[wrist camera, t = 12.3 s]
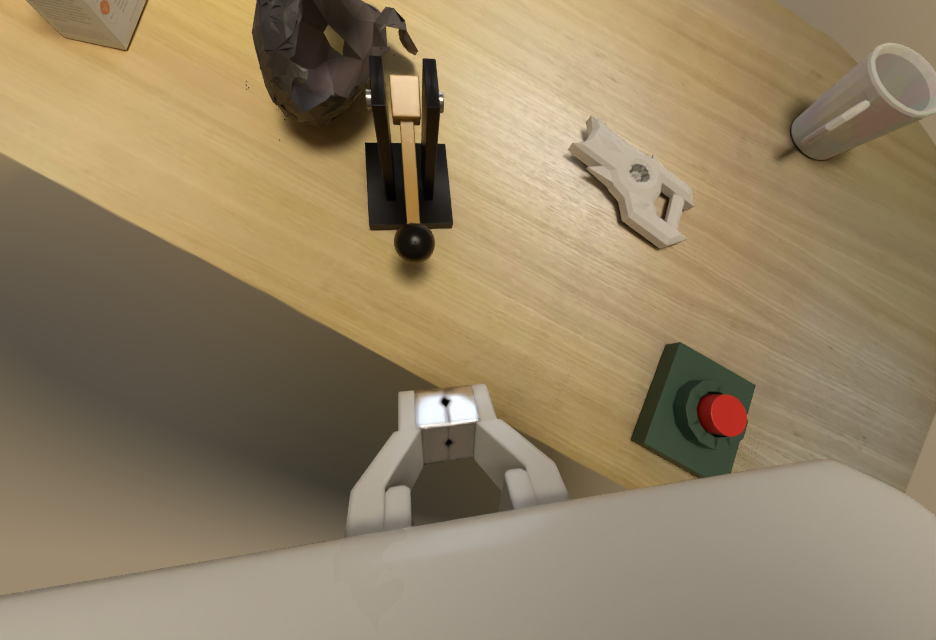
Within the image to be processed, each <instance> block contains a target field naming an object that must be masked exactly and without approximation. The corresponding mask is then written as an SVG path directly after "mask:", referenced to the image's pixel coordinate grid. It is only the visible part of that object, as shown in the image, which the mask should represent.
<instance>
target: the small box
mask: <svg viewBox="0 0 936 640" xmlns="http://www.w3.org/2000/svg"><path fill="white" fill-rule="evenodd" d="M26 1H27V2H28V3H29V4H30V5H31V6H32V7H33V8H34V9H36V10H37V11H38V12H39V13H40V14H41V15H42V16H43V17H44V18H45V19H46V20H47V21H48V22H49V23H50V24H51V25H52V26H53V27H54V28H55V29H56V30H57V31H58V32H59V33H60V34H61V35H62V36H64V37H66V38H69V39H74V40H79V41H84V42H89V43H93V44H98V45H103V46H107V47H112V48H118V49H122V50H127V48H128V45H129V42H130V40H131V37H132V35H133V32H134V30H135V27H136V25H137V22H138V20H139V17H140V15H141V12H142V10H143V7H144V5H145V2H146V0H26Z"/></svg>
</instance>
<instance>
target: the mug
mask: <svg viewBox="0 0 936 640" xmlns="http://www.w3.org/2000/svg"><path fill="white" fill-rule="evenodd" d="M935 112H936V72H935V71H934V70H933V68H932V67H931V65H930V64H929V63H928V62H927V61H926V60H925V59H924V58H923V57H922V56H921V55H920V54H918V53H917V52H915V51H914V50H912V49H911V48H908V47H905V46H903V45H900V44H896V43H886V44H882V45H879V46H878V47H876V48H875V49H874V50H872V51H871V52H870V53H869V54H868V55H867V56H866V57H865V58H864V59H863V60H861V61H860V62H859V63H858V64H857V65H856V66H855V67H853V68H852V69H851V70H850V71H849V72H848V73H847V74H846V75H844V76H843V77H842V78H841V79H840V80H839V81H838V82H837V83H835V84H834V85H833V86H832V87H831V88H830V89H829V90H828V91H826V92H825V93H824V94H823V95H822V96H821V97H820V98H819V99H817V100H816V101H815V102H814V103H813V104H812V105H811V106H810V107H808V108H807V109H806V110H805V111H804V112H803V113H802V114H801V115H799V116H798V117H797V118H796V119H795V120H794V122H793V124H792V127H791V134H792V137H793V140H794V142H795V144H796V145H797V147H798V148H799V149H800V150H801V151H802V152H803V153H804V154H805V155H807V156H809V157H810V158H813V159H816V160H825V159H828V158H831V157H833V156H836V155H838V154H840V153H843V152H845V151H847V150H850V149H852V148H854V147H857V146H859V145H862V144H864V143H866V142H869V141H871V140H873V139H876V138H878V137H880V136H883V135H885V134H888V133H890V132H892V131H895V130H897V129H899V128H902V127H904V126H906V125H909V124H911V123H914V122H916V121H918V120H921V119H923V118H925V117H927V116H930V115H932V114H934V113H935Z"/></svg>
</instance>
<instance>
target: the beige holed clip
mask: <svg viewBox="0 0 936 640" xmlns="http://www.w3.org/2000/svg"><path fill="white" fill-rule="evenodd" d="M586 125H587V131H588V138H587V139H586V141H585V142H578V143H572V145H571V146H570V147H569V149H568V150H569V151H570V152H571V153H572V154H573V155H574V156H575V157H577V158H578V159H579V160H581V161H582V162H583V163H585V164H586V165H587V166H589V167H587V168H586V169H587V170H588V171H589V172H591V173H592V174H593V175H594V176H595V177H596V178H597V179H598V180H599V181H601V182H602V183H603V184H604V185H605V186H606V187H607V188H608V191H609V192H610V193H611V194H612V195H613V196H614V198H615V199H616V200H617V201H618V204H619V209H620V214H621V218H622V221H623V222H624V223H626V224H627V225H628V226H630V227H631V228H632V229H634V230H635V231H636V232H638V233H639V234H641V235H642V236H643V237H645V238H646V239H647V240H649V241H650V242H651V243H653V244H654V245H655V246H657V247H658V248H660V249H661V248H664V247H667V246H671V245H674V244H677V243H680V242H682V241H684V240H686V239H687V238H686V237H685V236H684V235H683V234H681V233H680V232H679V231H677V230H678V226H679V222H680V218H681V214H682V210H683V209H685V210H686V211H688V210H689V209H691V208H693V207H694V202H693V194H692V188H691V187H690V186H689V185H687V184H686V183H685V182H683V181H682V180H681V179H679V178H678V177H677V176H675V175H674V174H673V173H671V172H670V171H669V170H667V169H666V168H665V167H664V166H663V165H662V164H661V163H660V162H659V161H658V160H657V158H656V157H655V156H654V155H652V157H650V156H649V155H647V154H645V153H642V152H640V151H638V150H637V149H635V148H634V147H633V146H631V145H630V144H629V143H628V142H626V141H625V140H624V139H622V138H621V137H620V136H618V135H617V134H616V133H614V132H613V131H612V130H610V129H609V128H608V127H607V125H606V124H605V123H604V122H603V121H601V120H600V119H599V118H597V119H596V118H594V117H592V116H590V118H589V119H588V120H587V122H586ZM661 192H662V193H663V194H664V195H666V196H667V197H668V198H670V200H669V204H668V208H667V212H666V216H665V220H663V219H661V218H660V217H659V216H657V212H656V209H655V205H654V202H655V201H656V199H657V198H658V196H659V195H660V193H661Z"/></svg>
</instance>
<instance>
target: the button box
mask: <svg viewBox="0 0 936 640" xmlns="http://www.w3.org/2000/svg"><path fill="white" fill-rule="evenodd" d="M754 389H755V385H754V384H753V383H751V382H749V381H747V380H746V379H744V378H742V377H740V376H739V375H737V374H735V373H733V372H732V371H730V370H728V369H726V368H725V367H723V366H721V365H719V364H718V363H716V362H714V361H712V360H711V359H709V358H707V357H705V356H704V355H702V354H700V353H698V352H697V351H695V350H693V349H691V348H690V347H688V346H686V345H684V344H683V343H681V342H679V343H673V344H667V345H666V347H665V349H664V352H663V355H662V357H661V360H660V363H659V366H658V368H657V371H656V374H655V376H654V379H653V382H652V384H651V387H650V390H649V393H648V395H647V398H646V401H645V403H644V406H643V409H642V412H641V414H640V417H639V420H638V422H637V425H636V428H635V431H634V433H633V436H632V439H631V440H632V441H633V442H635V443H637V444H639V445H641V446H642V447H644V448H646V449H648V450H650V451H651V452H653V453H655V454H657V455H659V456H660V457H662V458H664V459H666V460H668V461H669V462H671V463H673V464H675V465H677V466H678V467H680V468H682V469H684V470H686V471H687V472H689V473H691V474H693V475H695V476H696V477H698V478H705V477H711V476H717V475H723V474H729V473H731V470H732V467H733V463H734V460H735V456H736V453H737V449H738V446H739V442H740V441H741V440H742V439H743V438H744V434H745V431H746V427H747V424H746V427H745V429H744V431H743V432H742V433H741V434H739V435H737V436H734V437H729V436H723V435H717V434H712V433H710V432H708V431H707V430H705V429H704V428H703V427H702V425H701V424H700V422H699V420H698V415H697V407H698V403H699V401H700V400H701V399H702V398H703V397H704V396H706V395H709V394H724V395H731V396H733V397H735V398H737V399H738V400H739V401H740V402H741V403H742V405H743V406H744V408H745V411H746V414H748V410H749V407H750V403H751V400H752V396H753V393H754ZM747 423H748V421H747Z"/></svg>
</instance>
